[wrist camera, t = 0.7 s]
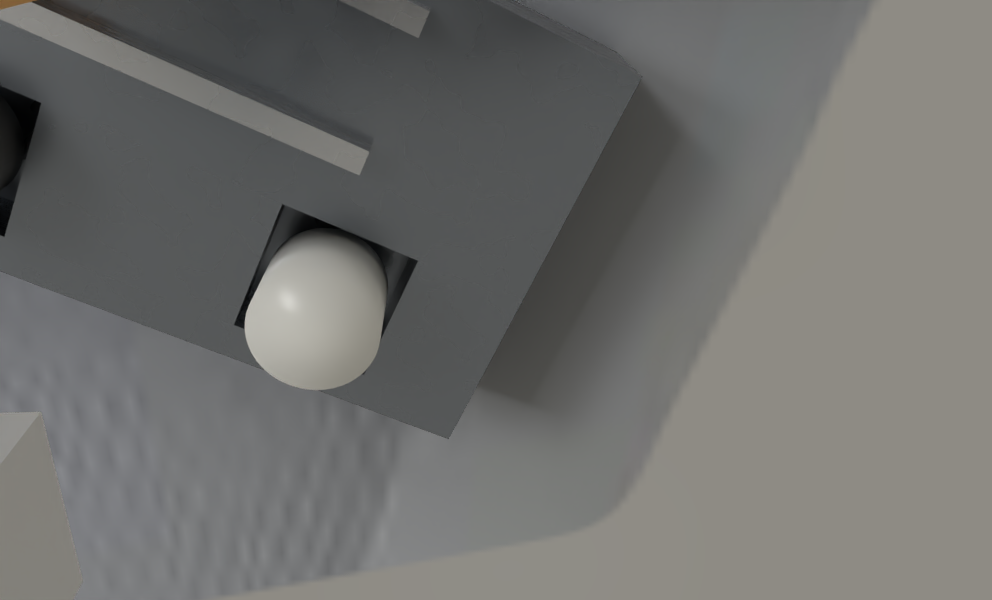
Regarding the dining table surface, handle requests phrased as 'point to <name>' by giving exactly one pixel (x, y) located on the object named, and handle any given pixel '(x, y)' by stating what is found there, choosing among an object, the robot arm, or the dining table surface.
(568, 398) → the dining table surface
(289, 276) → the white button
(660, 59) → the dining table surface
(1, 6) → the toggle knob
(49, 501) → the robot arm
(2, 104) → the black button
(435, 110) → the panel
